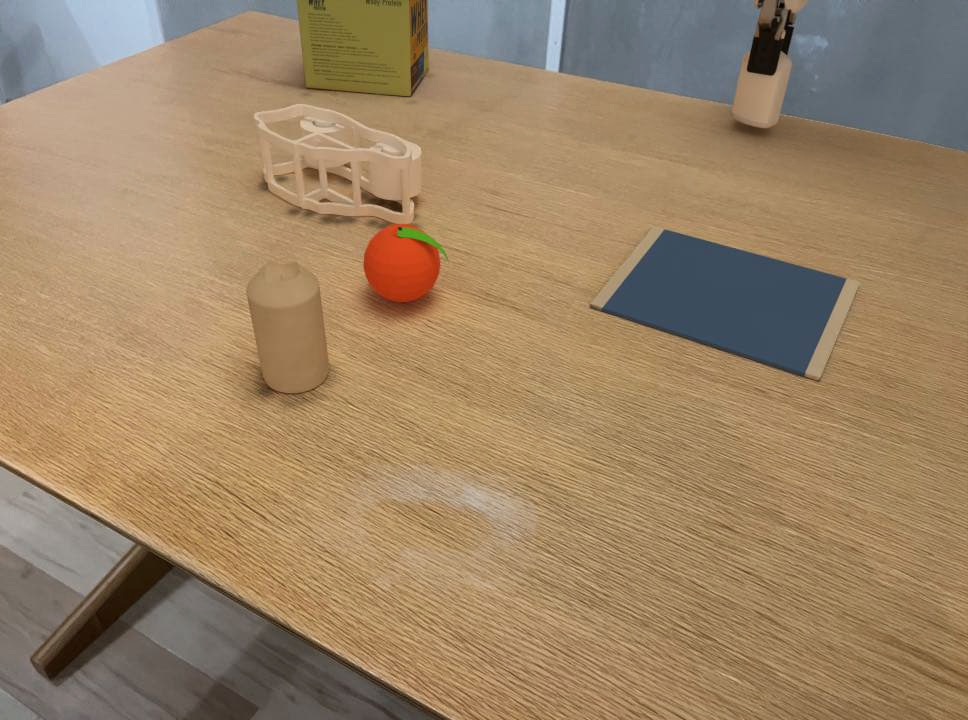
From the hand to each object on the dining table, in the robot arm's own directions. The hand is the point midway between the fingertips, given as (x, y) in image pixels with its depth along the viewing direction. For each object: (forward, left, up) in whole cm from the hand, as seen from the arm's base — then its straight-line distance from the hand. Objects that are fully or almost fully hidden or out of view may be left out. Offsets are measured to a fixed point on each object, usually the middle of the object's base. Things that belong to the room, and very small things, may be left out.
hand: (766, 65), depth 97 cm
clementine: (+17, +52, -8) cm, 55 cm away
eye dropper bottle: (0, 0, -7) cm, 7 cm away
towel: (-8, +37, -8) cm, 39 cm away
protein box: (+51, +10, -8) cm, 52 cm away
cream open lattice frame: (+34, +39, -8) cm, 52 cm away
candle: (+19, +66, -8) cm, 69 cm away
